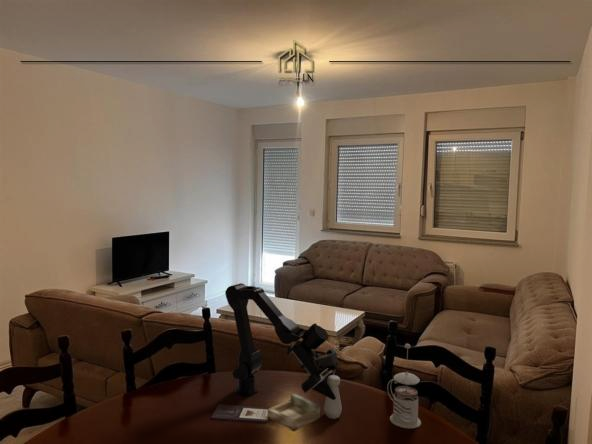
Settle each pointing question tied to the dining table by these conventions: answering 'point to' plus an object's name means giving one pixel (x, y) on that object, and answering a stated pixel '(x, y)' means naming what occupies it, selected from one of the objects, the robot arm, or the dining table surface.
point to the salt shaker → (333, 406)
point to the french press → (410, 413)
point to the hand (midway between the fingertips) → (337, 396)
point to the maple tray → (295, 412)
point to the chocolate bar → (241, 413)
